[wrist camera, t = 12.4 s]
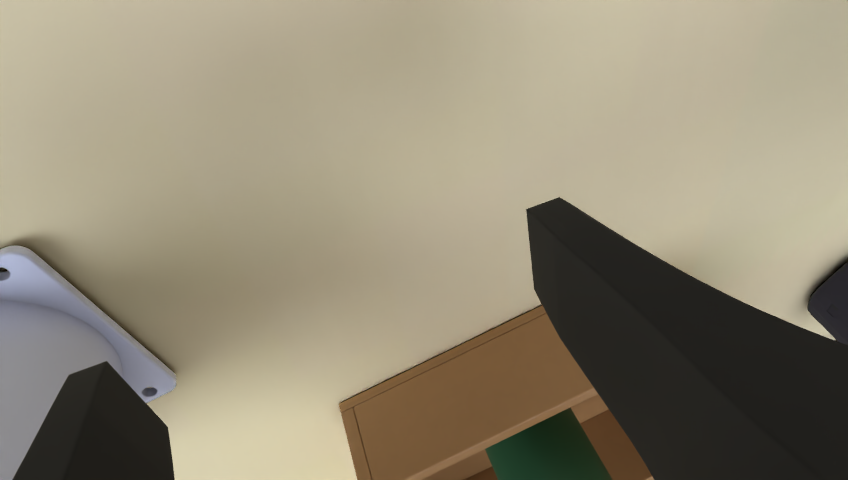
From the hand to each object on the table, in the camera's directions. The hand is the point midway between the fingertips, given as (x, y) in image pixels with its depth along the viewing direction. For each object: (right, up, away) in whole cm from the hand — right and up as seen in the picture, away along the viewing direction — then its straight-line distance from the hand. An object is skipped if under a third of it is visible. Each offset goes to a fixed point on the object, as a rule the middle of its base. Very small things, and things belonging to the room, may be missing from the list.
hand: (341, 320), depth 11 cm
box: (+6, -6, +21) cm, 23 cm away
